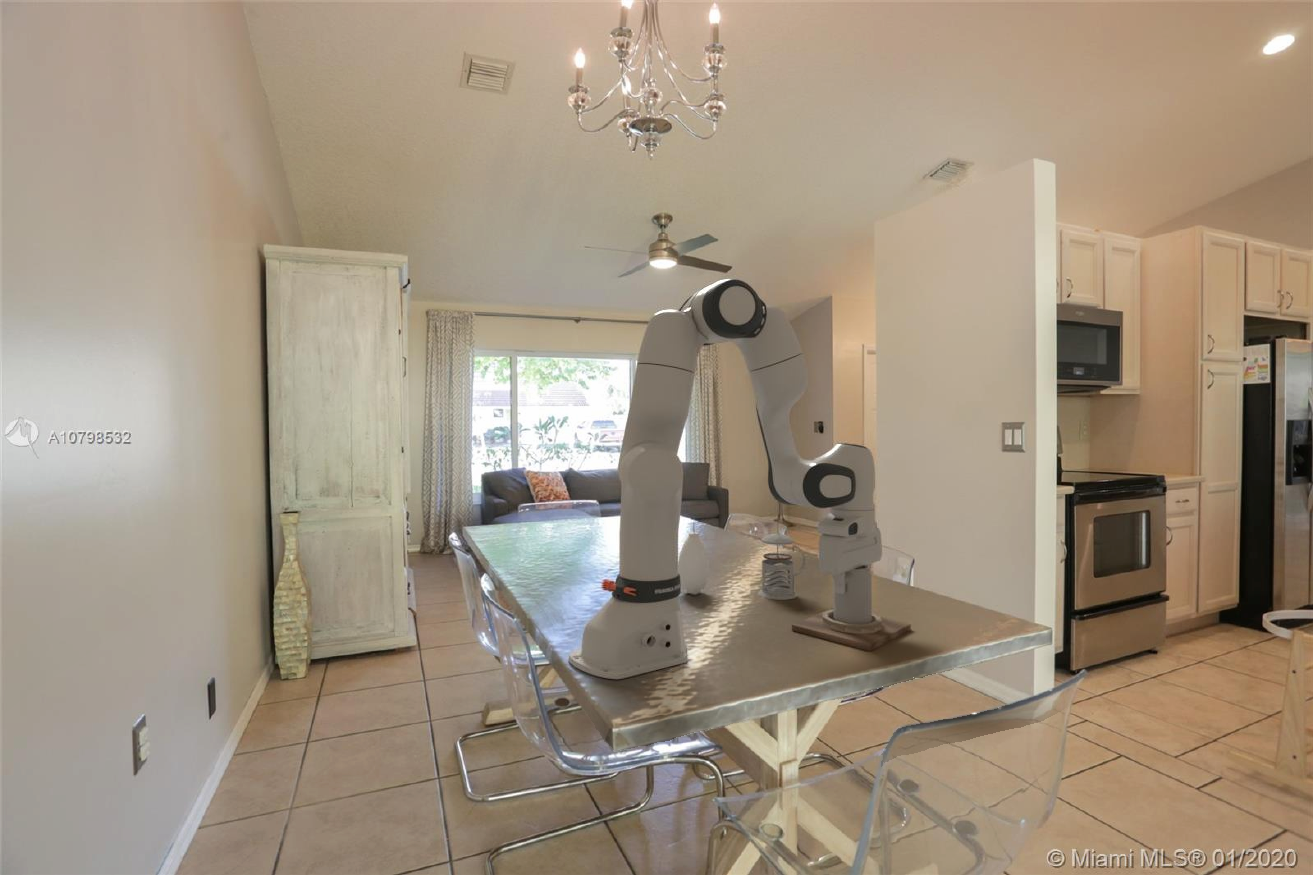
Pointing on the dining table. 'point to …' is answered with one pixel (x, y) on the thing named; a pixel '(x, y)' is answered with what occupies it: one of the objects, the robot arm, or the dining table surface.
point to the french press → (776, 586)
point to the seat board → (852, 637)
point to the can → (855, 598)
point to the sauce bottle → (693, 564)
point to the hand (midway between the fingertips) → (852, 588)
